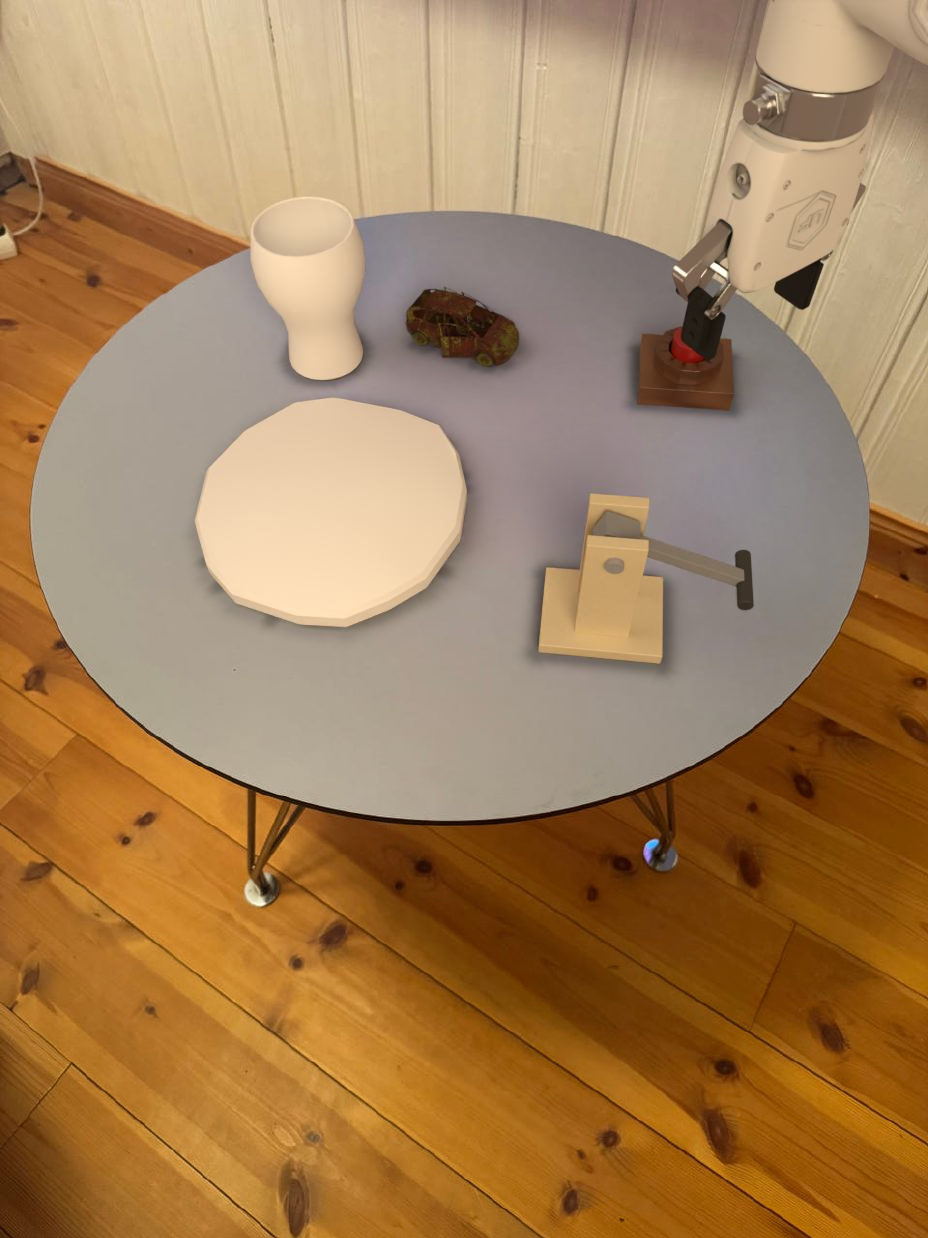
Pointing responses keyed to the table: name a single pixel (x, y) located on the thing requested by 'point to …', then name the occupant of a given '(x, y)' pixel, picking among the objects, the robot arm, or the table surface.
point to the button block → (684, 376)
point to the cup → (312, 280)
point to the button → (683, 350)
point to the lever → (685, 557)
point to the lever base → (606, 594)
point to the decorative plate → (331, 511)
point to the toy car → (461, 327)
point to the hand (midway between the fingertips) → (744, 324)
